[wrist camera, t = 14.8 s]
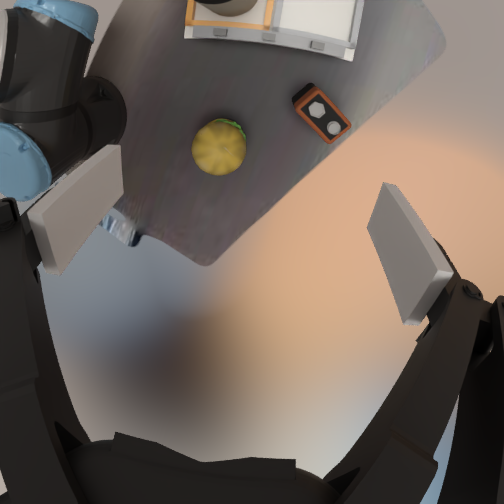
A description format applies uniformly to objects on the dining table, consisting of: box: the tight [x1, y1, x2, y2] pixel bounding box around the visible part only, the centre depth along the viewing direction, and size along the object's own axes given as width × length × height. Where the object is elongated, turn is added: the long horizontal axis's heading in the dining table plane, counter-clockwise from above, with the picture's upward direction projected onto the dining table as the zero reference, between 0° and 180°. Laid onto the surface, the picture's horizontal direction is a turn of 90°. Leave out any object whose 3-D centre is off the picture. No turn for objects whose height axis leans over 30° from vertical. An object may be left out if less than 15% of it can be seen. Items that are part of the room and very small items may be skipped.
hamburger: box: [191, 118, 246, 176], centre depth 42 cm, size 8×7×12 cm
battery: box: [292, 83, 351, 144], centre depth 39 cm, size 4×7×10 cm, turn 47°
